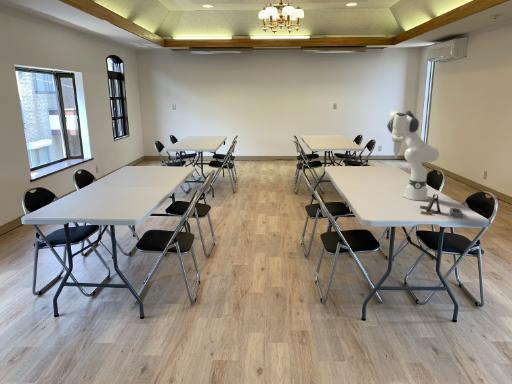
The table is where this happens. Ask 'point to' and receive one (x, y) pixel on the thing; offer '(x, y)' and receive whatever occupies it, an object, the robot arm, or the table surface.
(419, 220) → the table surface
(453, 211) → the pit tray
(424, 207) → the walled lane
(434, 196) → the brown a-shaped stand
